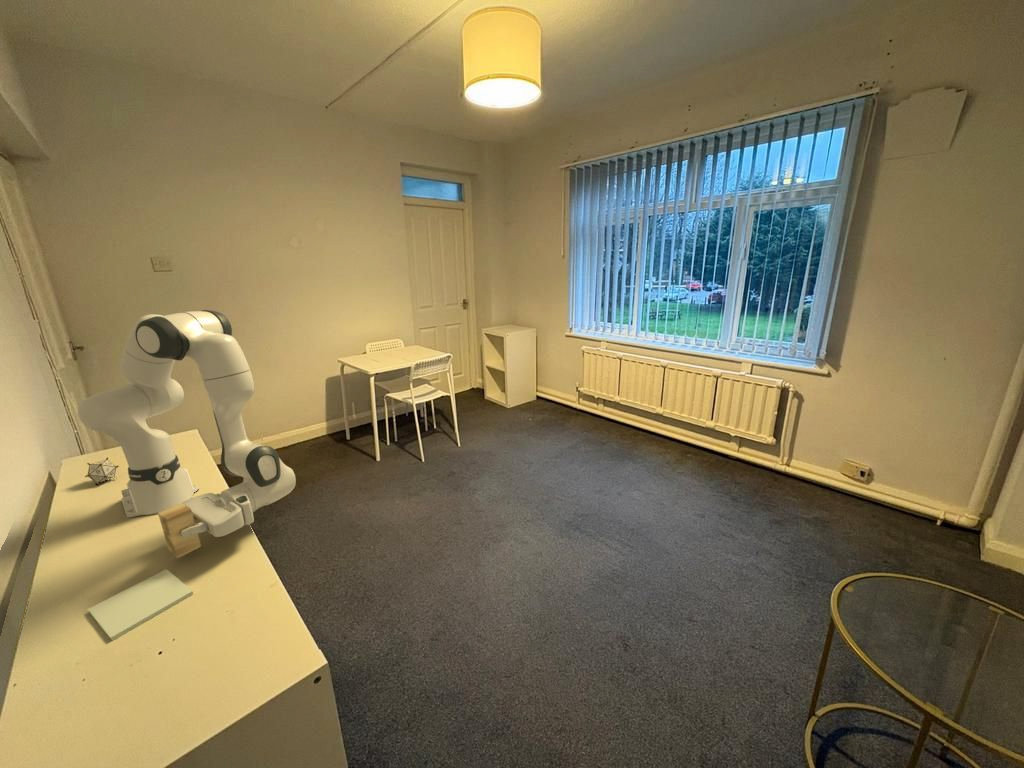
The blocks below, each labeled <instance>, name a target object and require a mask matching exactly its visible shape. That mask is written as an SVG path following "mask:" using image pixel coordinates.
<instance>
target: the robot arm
mask: <svg viewBox="0 0 1024 768" xmlns="http://www.w3.org/2000/svg"><path fill="white" fill-rule="evenodd" d="M232 335H233V328H232V325H231V322H230V320H229V319H228V318H227V317H226V316H225V315H224V314H223V313H221V312H219V311H217V310H207V309H206V310H205V309H204V310H203V309H202V310H199V311H197V310H196V311H195V310H194V311H193V310H192V311H190V310H189V311H180V312H176V313H171V314H166V315H162V314H157V313H156V314H155V313H154V314H153V313H152V314H150V313H149V314H145V315H143V316H141V317H139V318H138V319H137V320H136V322H135V323H134V325H133V327H132V329H131V330H130V332H129V334H128V336H127V339H126V341H125V345H124V348H123V352H122V355H121V360H120V362H119V371H120V373H121V374H122V376H123V377H124V378H125V379H126V380H128V381H129V382H130V383H129V384H126V385H123V386H122V385H121V386H119V387H115V388H111V389H107V390H104V391H100V392H98V393H96V394H93V395H91V396H88V397H87V398H84V399H83V400H81V402H80V403H79V405H78V407H77V416H78V418H79V420H80V422H81V423H82V424H83V425H84V426H85V427H86V428H88V429H91V430H92V431H95V432H100V433H104V434H106V435H108V436H110V437H111V438H112V439H114V440H115V441H116V443H118V444H119V446H120V447H121V450H122V452H123V455H124V457H125V459H126V462H127V465H128V468H127V474H128V477H129V480H128V482H127V483H126V486H127V488H126V489H125V488H124V489H122V490H121V491H120V492H121V495H122V498H121V502H122V506H123V510H124V513H126V514H125V517H126V518H134V517H137V516H146V515H147V516H150V515H155V514H158V513H159V512H162V511H164V510H167V509H169V508H172V507H174V506H176V505H179V504H181V503H183V504H184V505H186V506H187V507H189V508H190V509H191V511H192V514H193V518H194V522H195V526H192V527H185V528H183V529H181V530H180V531H179V532H180V535H181V536H182V537H183V538H185V537H187V536H189V535H192V534H197V533H198V534H202V533H203V532H208V533H209V534H211V535H212V536H213V537H214V538H220V537H224V536H227V535H229V534H231V533H233V532H235V531H237V530H239V529H241V528H242V527H244V526H249V525H251V524H253V523H254V522H255V519H254V517H255V516H254V512H256V511H257V510H258V509H260V508H262V507H264V506H269V505H271V504H273V503H275V502H277V501H279V500H280V499H282V498H284V497H286V496H287V495H289V494H290V493H291V492H292V491H293V489H295V487H296V484H297V483H296V482H297V477H296V474H295V472H294V470H293V468H291V467H289V466H287V465H286V464H285V463H284V462H283V461H282V459H281V458H280V457H279V454H278V453H279V452H277V450H276V449H274V448H273V447H272V446H269V445H264V444H255V443H253V442H252V441H251V440H250V439H249V438H248V436H247V432H246V427H245V424H244V421H243V420H244V419H243V417H242V412H243V408H244V405H245V404H246V403H248V402H249V400H251V399H252V397H253V395H254V393H255V382H254V377H253V373H252V371H251V368H250V365H249V362H248V361H247V358H246V356H245V353H244V351H243V349H242V348H241V346H240V343H239V342H238V341H237V339H235V337H234V336H232ZM185 357H188V358H190V359H192V360H193V361H194V362H195V363H196V364H197V367H198V369H199V373H200V376H201V380H202V382H203V384H204V387H205V390H206V392H207V396H208V397H209V401H210V404H211V407H212V408H211V409H212V411H213V412H212V413H213V415H214V416H213V417H214V420H215V423H216V426H217V427H216V428H217V431H218V435H219V438H220V442H221V455H220V465H221V467H222V469H223V471H224V472H225V473H227V474H228V475H231V476H233V477H242V479H243V480H242V482H241V483H238V484H236V485H234V486H232V487H229V488H227V489H224V490H222V491H221V492H220V493H212V492H208V493H207V492H206V493H204V494H200V495H197V496H194V494H195V493H197V492H198V491H199V490H200V487H199V485H195V484H193V483H192V480H191V477H190V474H189V471H188V469H186V468H184V467H181V464H180V463H181V462H180V459H179V456H178V455H177V454H176V453H175V452H176V451H175V449H174V445H173V443H172V439H171V435H170V434H169V433H168V432H166V431H165V430H162V429H158V428H151V427H149V426H148V424H147V419H150V418H152V417H155V416H159V415H161V414H164V413H167V412H169V411H171V410H173V409H174V408H176V407H177V406H180V405H181V404H182V403H183V402H184V397H185V392H184V391H185V390H184V389H183V387H182V385H181V384H180V383H179V381H177V380H176V379H173V378H172V376H171V375H172V371H173V368H174V365H175V362H176V361H182V360H183V359H184V358H185ZM198 489H199V490H198ZM197 490H198V491H197ZM196 491H197V492H196ZM194 492H195V493H194ZM192 495H193V496H194V497H193V496H192Z"/></svg>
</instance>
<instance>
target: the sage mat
mask: <svg viewBox="0 0 1024 768" xmlns="http://www.w3.org/2000/svg"><path fill="white" fill-rule="evenodd" d="M192 595H194V591H193V590H192V589H191V588H189V586H187V585H186V584H185V583H184V582H183V581H182V580H180V579H179V578H178V577H176V576H175V574H173V573H172V572H171V571H170V570H168V569H167V568H166V569H164V570H162V571H160V572H158V573H156V574H154V575H152V576H150V577H148V578H146V579H144V580H143V581H141V582H138V583H136V584H135V585H132V586H130V587H128V588H126V589H124V590H122V591H120V592H119V593H117V594H115V595H113V596H110V597H109V598H107V599H105V600H103V601H100V602H99V603H97V604H95V605H93V606H91V607H89V608H88V609H87V610H88V612H89V614H90V616H92V618H93V619H94V620H95V621H96V623H97V624H98V625H99V627H100V628H101V629H102V630H103V632H104V633H105V634H106V636H107V637H108V639H110V641H114V640H116V639H117V638H120V637H121V636H123V635H125V634H126V633H128V632H130V631H131V630H133V629H135V628H137V627H138V626H140V625H142V624H144V623H146V622H147V621H149V620H151V619H153V618H154V617H157V615H160V614H161V613H163V612H165V611H166V610H168V609H170V608H171V607H173V606H174V605H177V604H178V603H180V602H181V601H184V600H185V599H187V598H189V597H190V596H192Z"/></svg>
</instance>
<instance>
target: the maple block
mask: <svg viewBox="0 0 1024 768" xmlns="http://www.w3.org/2000/svg"><path fill="white" fill-rule="evenodd" d="M157 516H158V517H159V523H160V525H161V528H162V531H163V536H164V537H165V541H166V545H167V550H168V552H170V553H171V554H172V555H174V556H175V558H177V559H179V558H181V557H183V556H185V555H187V554H189V553H190V552H193V551H194V550H197V549H199V548H200V547H202V544H201V541H200V537H199V533H197V534H192V535H189V536H187V537H185V538H183V537H182V536H181V535H180V532H179V531H180V530H181V529H183V528H185V527H192V526H195V525H196V523H195V522H194V518H193V514H192V511H191V509H190V508H189V507H187V506H186V505H184V504H183V503H181V504H179V505H176V506H174V507H172V508H169V509H167V510H164V511H162V512H159V513H157Z"/></svg>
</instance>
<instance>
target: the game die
mask: <svg viewBox="0 0 1024 768" xmlns="http://www.w3.org/2000/svg"><path fill="white" fill-rule="evenodd" d="M86 464H87V465H88V471H87V474H86V475H85V476H84V478H89V479H91V480H92V481H93V482H94V483H96V484H97V483H98V484H100V483H99V482H101V483H103V482H102V481H104V482H106V481H105V480H107V481H109V480H108V479H110V480H112V479H111V478H113V477H114V478H116V477H115V476H116V472H117V468H119V467H120V466H119V465H114V464H113V462H111V461H110V460H109V457H106V458H105V459H104V460H100V461H97V462H93V463H89V462H87V463H86ZM114 478H113V479H114Z"/></svg>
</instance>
